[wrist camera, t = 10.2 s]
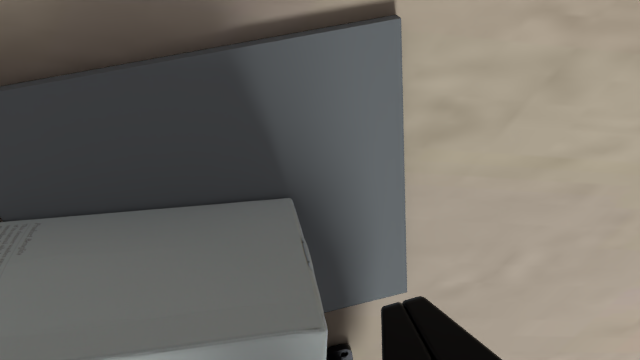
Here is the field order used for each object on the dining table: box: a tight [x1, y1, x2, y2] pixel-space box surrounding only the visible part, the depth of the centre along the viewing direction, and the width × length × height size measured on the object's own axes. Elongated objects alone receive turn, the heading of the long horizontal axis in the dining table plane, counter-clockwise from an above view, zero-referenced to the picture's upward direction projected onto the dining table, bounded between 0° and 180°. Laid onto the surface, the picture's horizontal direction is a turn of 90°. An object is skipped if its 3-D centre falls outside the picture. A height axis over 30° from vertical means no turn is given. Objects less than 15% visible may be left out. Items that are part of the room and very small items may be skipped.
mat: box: [0, 15, 407, 313], centre depth 23 cm, size 16×18×1 cm
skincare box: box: [0, 198, 328, 360], centre depth 19 cm, size 8×6×15 cm
